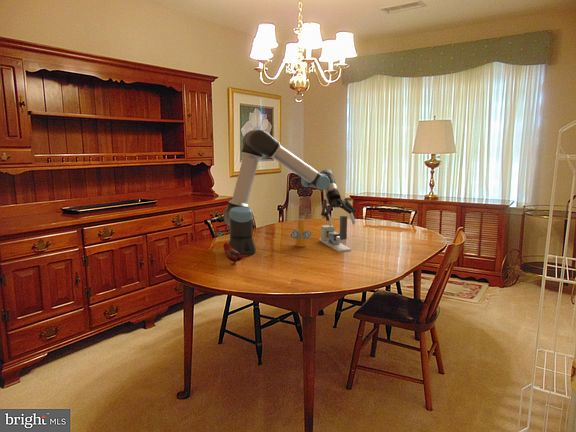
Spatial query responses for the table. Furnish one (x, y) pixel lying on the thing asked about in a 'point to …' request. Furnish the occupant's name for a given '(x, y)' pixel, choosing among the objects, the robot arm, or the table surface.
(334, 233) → the outer sleeve
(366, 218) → the table surface
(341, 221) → the grey upright bracket
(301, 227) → the orange grey upright piece
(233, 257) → the decorative bird figurine
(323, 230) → the socket block
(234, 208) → the robot arm
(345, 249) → the base plate
